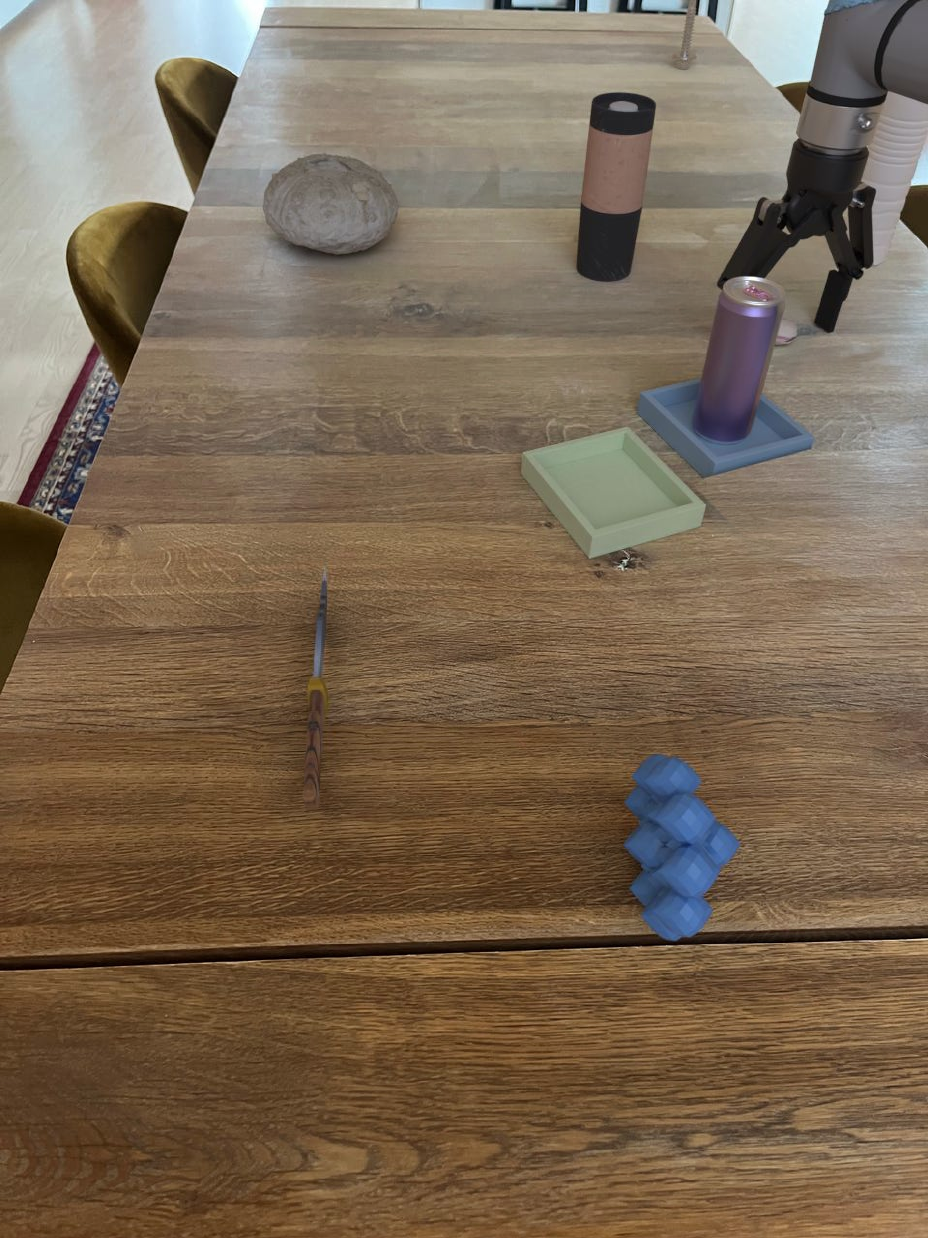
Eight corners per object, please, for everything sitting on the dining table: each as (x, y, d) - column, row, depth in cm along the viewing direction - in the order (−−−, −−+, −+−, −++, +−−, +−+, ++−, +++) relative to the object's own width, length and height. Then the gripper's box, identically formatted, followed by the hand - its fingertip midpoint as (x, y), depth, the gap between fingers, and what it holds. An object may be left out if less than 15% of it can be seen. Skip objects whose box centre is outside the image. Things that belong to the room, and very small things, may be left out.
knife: (319, 586, 79) (313, 541, 75) (336, 586, 79) (331, 540, 76) (304, 843, 62) (296, 799, 58) (326, 841, 62) (318, 797, 58)
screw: (684, 62, 192) (699, 68, 189) (665, 65, 190) (680, 71, 187) (696, -13, 183) (712, -8, 180) (676, -11, 181) (692, -5, 178)
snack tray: (700, 526, 85) (706, 504, 84) (589, 559, 82) (592, 537, 80) (624, 447, 94) (627, 425, 92) (520, 473, 91) (522, 451, 89)
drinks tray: (808, 457, 93) (815, 436, 92) (710, 484, 90) (715, 463, 88) (728, 390, 102) (733, 369, 100) (636, 412, 99) (639, 391, 97)
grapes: (741, 986, 55) (795, 881, 47) (626, 987, 55) (660, 883, 47) (701, 816, 63) (740, 701, 55) (601, 817, 63) (626, 702, 55)
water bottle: (837, 242, 130) (898, 35, 112) (886, 250, 128) (956, 41, 111) (832, 268, 124) (896, 54, 106) (884, 276, 123) (957, 60, 105)
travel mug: (563, 263, 124) (578, 96, 110) (611, 252, 127) (632, 88, 113) (594, 287, 119) (615, 115, 105) (644, 275, 122) (670, 106, 108)
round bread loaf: (422, 230, 131) (420, 154, 124) (359, 281, 119) (354, 201, 112) (311, 207, 136) (304, 132, 129) (241, 254, 124) (229, 175, 117)
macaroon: (750, 338, 110) (755, 318, 109) (776, 325, 113) (782, 306, 111) (780, 353, 108) (786, 332, 106) (806, 339, 110) (812, 319, 109)
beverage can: (721, 453, 93) (757, 311, 82) (678, 426, 96) (707, 285, 86) (762, 434, 95) (802, 293, 85) (718, 408, 99) (752, 269, 88)
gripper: (755, 171, 89) (709, 373, 104) (952, 139, 96) (882, 332, 112) (710, 145, 94) (672, 341, 109) (900, 116, 101) (840, 305, 116)
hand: (778, 337), depth 110 cm, fingers open, 12 cm apart
